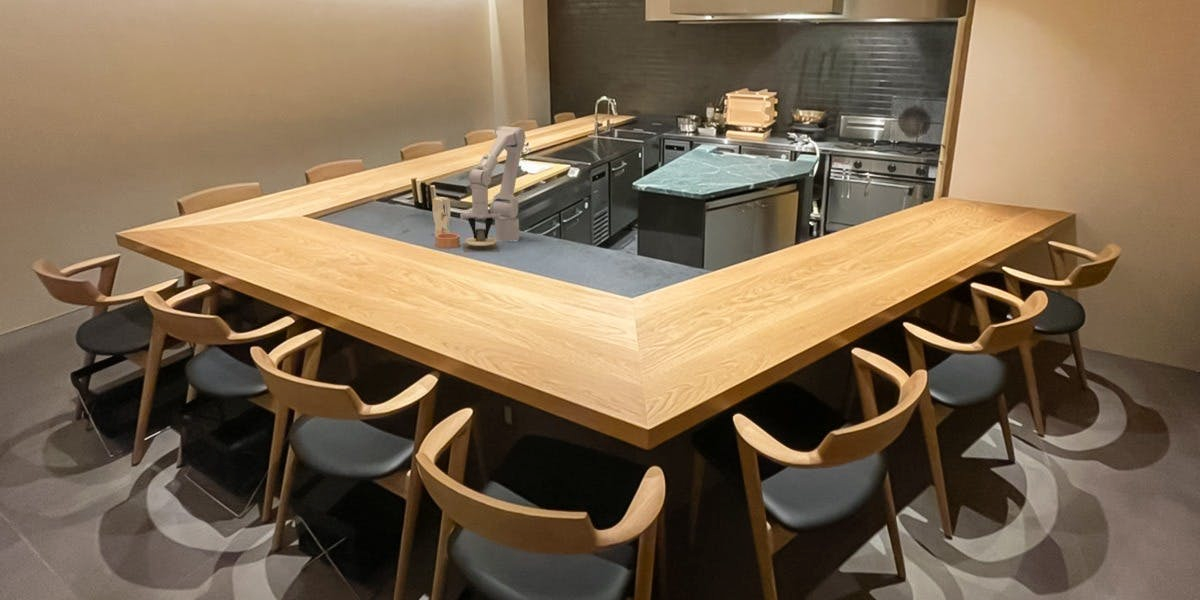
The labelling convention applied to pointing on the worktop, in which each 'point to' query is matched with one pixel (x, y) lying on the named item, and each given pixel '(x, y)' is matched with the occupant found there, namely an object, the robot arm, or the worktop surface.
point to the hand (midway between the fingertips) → (480, 238)
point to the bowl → (447, 240)
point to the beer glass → (441, 214)
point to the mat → (480, 248)
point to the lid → (480, 239)
